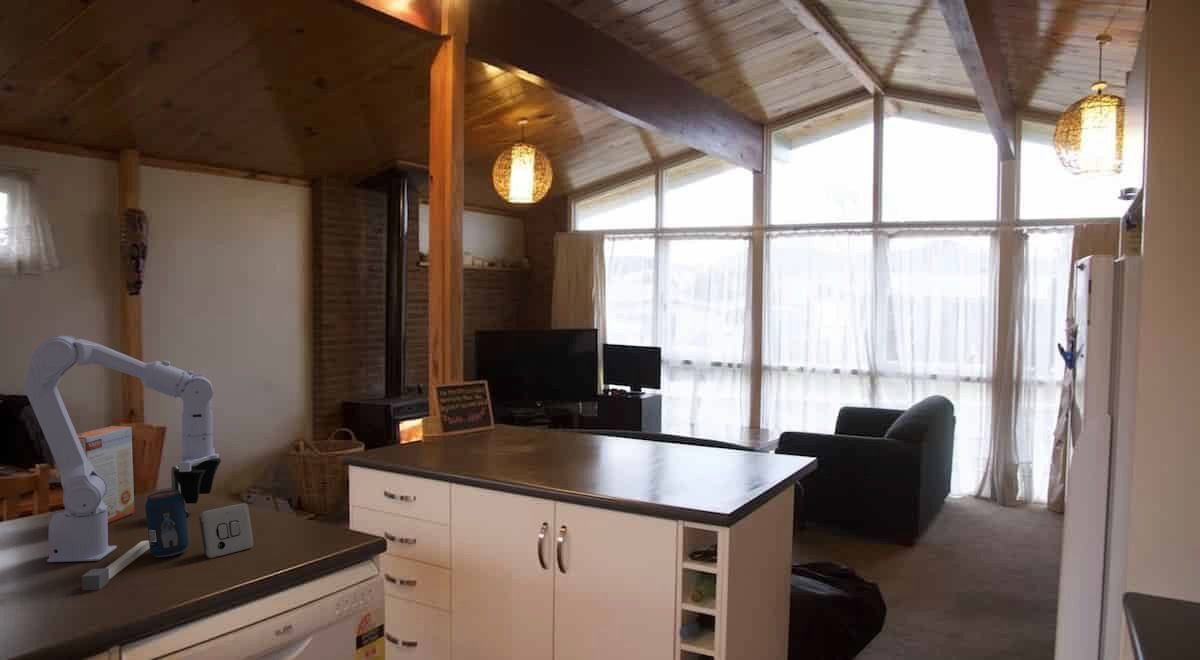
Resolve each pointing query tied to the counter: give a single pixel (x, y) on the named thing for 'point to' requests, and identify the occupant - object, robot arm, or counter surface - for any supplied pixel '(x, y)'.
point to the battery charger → (177, 485)
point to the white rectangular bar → (112, 568)
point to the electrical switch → (226, 530)
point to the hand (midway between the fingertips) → (198, 498)
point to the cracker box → (112, 466)
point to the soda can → (166, 523)
